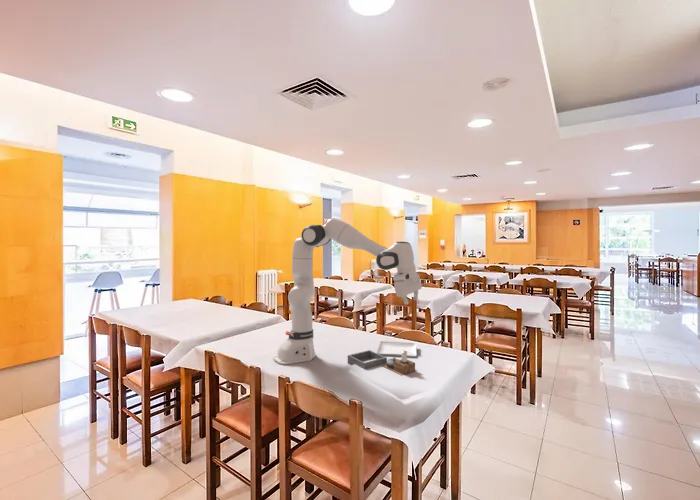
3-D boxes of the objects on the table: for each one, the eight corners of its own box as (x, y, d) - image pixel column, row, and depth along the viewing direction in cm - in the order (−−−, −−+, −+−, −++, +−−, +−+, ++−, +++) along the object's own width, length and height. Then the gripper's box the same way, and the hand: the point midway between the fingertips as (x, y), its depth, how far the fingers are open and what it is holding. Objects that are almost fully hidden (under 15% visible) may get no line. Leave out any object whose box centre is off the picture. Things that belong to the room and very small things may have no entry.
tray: (364, 372, 159) (364, 363, 159) (347, 363, 171) (347, 355, 170) (386, 365, 167) (386, 357, 167) (369, 357, 178) (369, 350, 178)
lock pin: (404, 372, 155) (404, 352, 155) (400, 370, 157) (400, 351, 157) (408, 370, 156) (408, 351, 156) (404, 369, 158) (404, 350, 158)
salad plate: (416, 361, 173) (416, 355, 173) (375, 359, 177) (375, 352, 177) (416, 348, 194) (416, 342, 194) (380, 346, 198) (380, 340, 198)
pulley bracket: (401, 378, 151) (401, 366, 151) (381, 368, 163) (381, 357, 162) (417, 373, 156) (417, 362, 156) (396, 364, 168) (396, 353, 168)
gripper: (411, 271, 174) (415, 297, 174) (390, 278, 158) (395, 307, 158) (422, 270, 170) (426, 297, 170) (402, 277, 154) (407, 307, 154)
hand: (411, 302), depth 164 cm, fingers open, 8 cm apart
